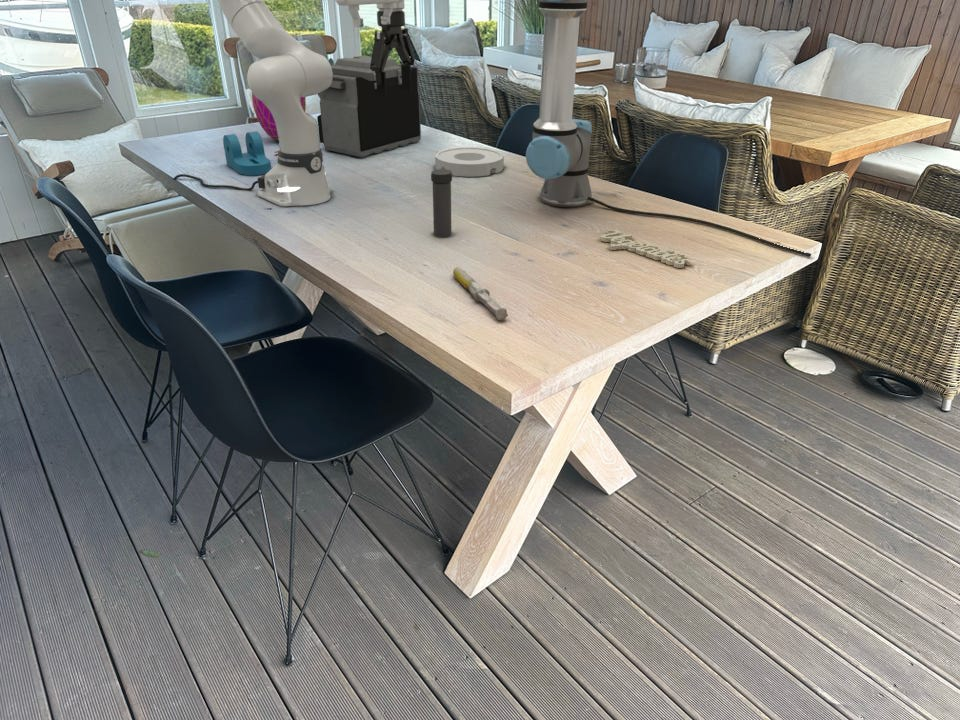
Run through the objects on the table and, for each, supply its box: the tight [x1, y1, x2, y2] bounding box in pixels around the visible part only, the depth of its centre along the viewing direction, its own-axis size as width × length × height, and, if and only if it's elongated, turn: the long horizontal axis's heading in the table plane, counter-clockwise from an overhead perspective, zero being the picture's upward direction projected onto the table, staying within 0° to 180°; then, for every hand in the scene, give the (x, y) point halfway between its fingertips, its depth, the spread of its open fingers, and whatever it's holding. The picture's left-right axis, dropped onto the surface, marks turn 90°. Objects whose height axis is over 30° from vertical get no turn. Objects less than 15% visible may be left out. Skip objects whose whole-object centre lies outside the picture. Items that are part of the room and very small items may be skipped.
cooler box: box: [316, 55, 422, 159], centre depth 250 cm, size 37×22×30 cm, turn 144°
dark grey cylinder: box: [431, 181, 452, 238], centre depth 173 cm, size 5×5×16 cm
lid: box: [430, 169, 453, 184], centre depth 170 cm, size 5×5×2 cm
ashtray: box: [434, 146, 505, 178], centre depth 232 cm, size 23×23×4 cm
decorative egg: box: [251, 58, 307, 141], centre depth 257 cm, size 19×19×30 cm
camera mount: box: [222, 131, 272, 176], centre depth 226 cm, size 18×10×10 cm, turn 35°
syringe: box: [452, 266, 509, 321], centre depth 145 cm, size 25×4×3 cm, turn 21°
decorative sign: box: [600, 229, 691, 269], centre depth 168 cm, size 26×1×10 cm
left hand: (372, 25), depth 163 cm, fingers open, 8 cm apart
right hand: (394, 93), depth 197 cm, fingers open, 13 cm apart
